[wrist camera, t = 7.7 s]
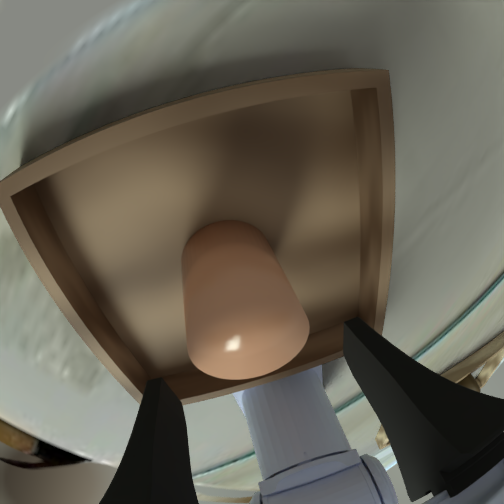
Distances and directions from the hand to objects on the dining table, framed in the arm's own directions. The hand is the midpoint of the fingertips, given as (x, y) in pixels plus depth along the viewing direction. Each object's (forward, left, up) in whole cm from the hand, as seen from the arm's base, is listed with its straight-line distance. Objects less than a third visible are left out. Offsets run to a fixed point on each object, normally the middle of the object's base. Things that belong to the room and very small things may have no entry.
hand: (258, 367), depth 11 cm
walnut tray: (0, 0, -8) cm, 8 cm away
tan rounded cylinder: (0, 0, -7) cm, 7 cm away
